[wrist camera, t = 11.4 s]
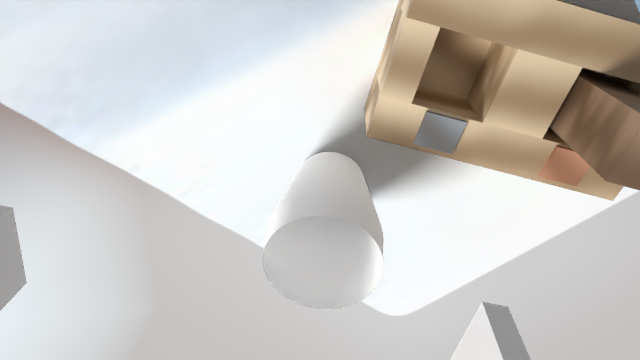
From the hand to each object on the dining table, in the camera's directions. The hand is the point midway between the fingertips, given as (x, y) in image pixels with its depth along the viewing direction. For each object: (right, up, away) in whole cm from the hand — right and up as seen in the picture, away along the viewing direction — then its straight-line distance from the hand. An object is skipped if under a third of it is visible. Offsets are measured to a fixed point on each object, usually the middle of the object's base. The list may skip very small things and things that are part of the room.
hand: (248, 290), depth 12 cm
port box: (+17, +12, +23) cm, 31 cm away
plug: (+22, +10, +22) cm, 33 cm away
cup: (+3, +3, +29) cm, 29 cm away
